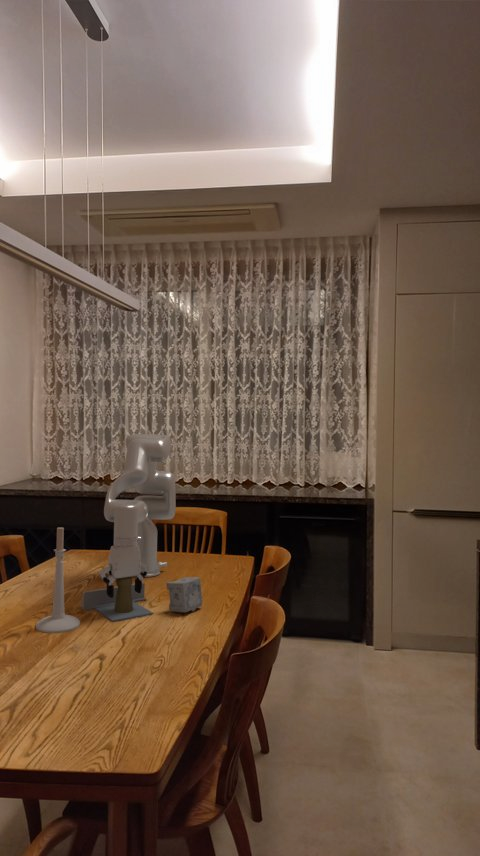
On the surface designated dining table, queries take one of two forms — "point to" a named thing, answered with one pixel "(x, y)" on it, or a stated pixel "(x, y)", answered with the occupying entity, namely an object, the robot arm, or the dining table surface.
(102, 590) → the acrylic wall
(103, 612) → the slate mat
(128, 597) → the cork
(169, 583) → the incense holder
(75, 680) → the dining table surface
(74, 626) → the candlestick
